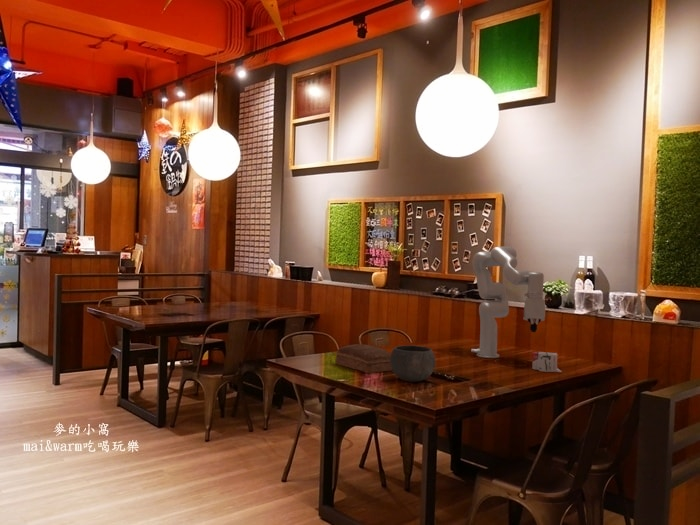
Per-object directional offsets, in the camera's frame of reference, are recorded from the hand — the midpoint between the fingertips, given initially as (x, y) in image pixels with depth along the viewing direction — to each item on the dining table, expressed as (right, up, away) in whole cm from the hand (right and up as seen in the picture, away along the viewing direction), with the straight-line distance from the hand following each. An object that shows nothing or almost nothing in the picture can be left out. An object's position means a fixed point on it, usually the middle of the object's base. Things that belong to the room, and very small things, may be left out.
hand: (533, 331), depth 312 cm
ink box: (-1, -15, -1) cm, 15 cm away
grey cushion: (-87, -18, -5) cm, 89 cm away
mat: (+7, -19, -1) cm, 21 cm away
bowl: (-66, -19, -35) cm, 77 cm away
